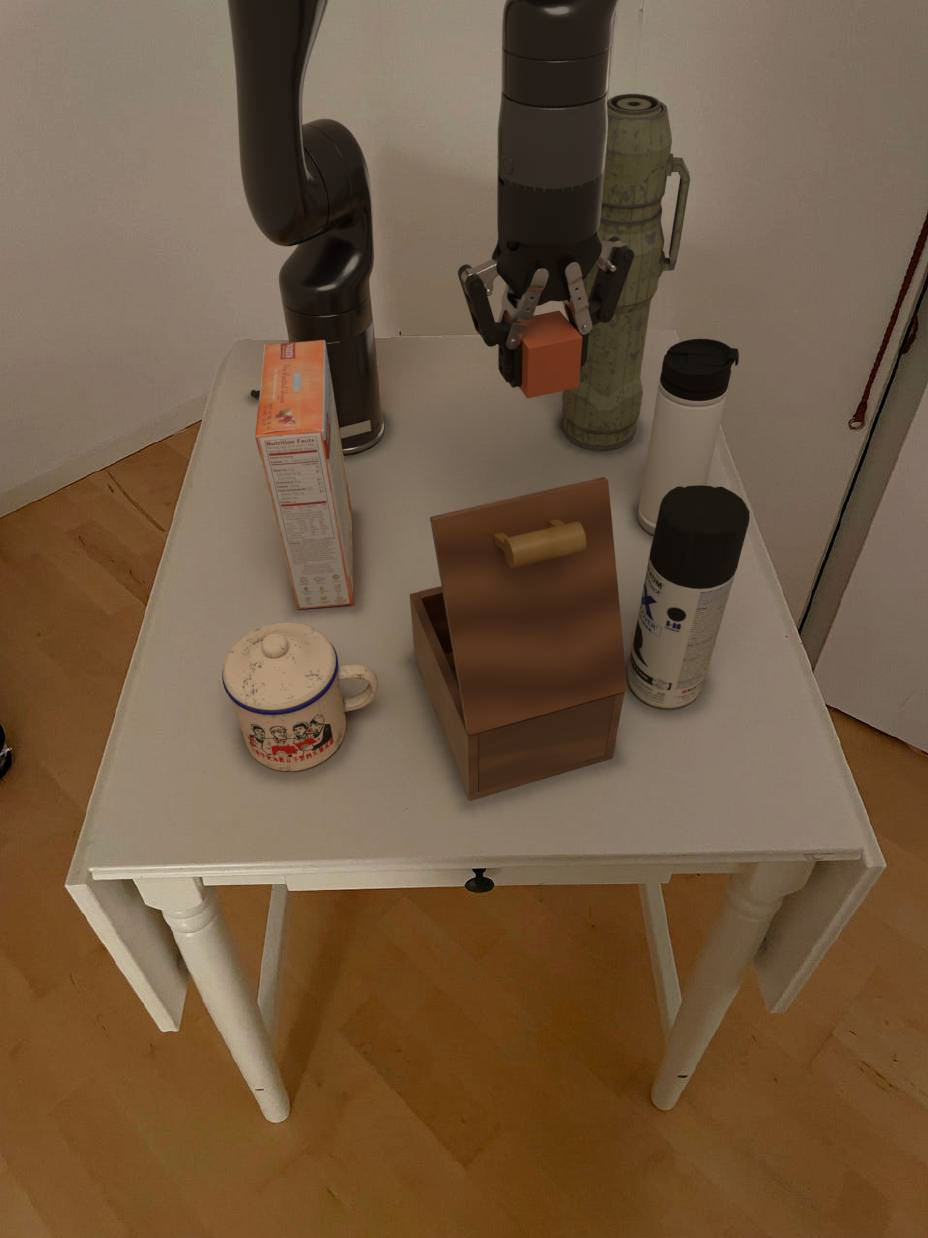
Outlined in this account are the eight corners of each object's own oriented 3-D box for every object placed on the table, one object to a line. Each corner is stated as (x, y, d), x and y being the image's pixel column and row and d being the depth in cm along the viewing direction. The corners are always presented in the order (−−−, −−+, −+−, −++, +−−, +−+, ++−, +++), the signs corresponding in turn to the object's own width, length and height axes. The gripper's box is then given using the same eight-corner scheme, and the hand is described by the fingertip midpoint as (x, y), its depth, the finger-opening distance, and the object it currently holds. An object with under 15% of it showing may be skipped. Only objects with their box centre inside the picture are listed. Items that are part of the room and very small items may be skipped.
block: (527, 399, 75) (528, 348, 71) (506, 370, 78) (507, 320, 74) (578, 387, 76) (582, 336, 72) (556, 359, 78) (559, 309, 75)
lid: (429, 516, 61) (450, 536, 56) (603, 476, 63) (638, 492, 58) (466, 730, 67) (488, 765, 62) (623, 686, 70) (655, 717, 65)
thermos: (547, 405, 111) (566, 85, 85) (646, 407, 110) (695, 86, 84) (547, 449, 105) (567, 119, 79) (651, 452, 104) (705, 120, 78)
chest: (415, 661, 84) (409, 593, 77) (543, 627, 86) (548, 559, 80) (469, 801, 73) (467, 737, 67) (612, 758, 76) (624, 692, 70)
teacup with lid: (242, 783, 75) (211, 695, 66) (243, 696, 81) (215, 605, 73) (388, 763, 76) (376, 674, 68) (378, 679, 82) (366, 587, 74)
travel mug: (699, 544, 94) (740, 372, 79) (634, 536, 95) (662, 365, 80) (701, 505, 98) (740, 335, 83) (639, 497, 99) (666, 328, 84)
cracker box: (297, 517, 97) (261, 340, 82) (353, 513, 98) (329, 336, 82) (292, 612, 88) (251, 432, 73) (355, 608, 88) (327, 427, 73)
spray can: (623, 652, 84) (653, 479, 69) (697, 653, 84) (743, 480, 69) (629, 710, 79) (663, 539, 65) (708, 711, 79) (760, 539, 64)
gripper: (620, 128, 68) (601, 338, 80) (437, 157, 65) (446, 370, 77) (668, 165, 63) (639, 381, 75) (472, 198, 60) (476, 418, 72)
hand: (541, 375), depth 76 cm, fingers closed on block, 4 cm apart
